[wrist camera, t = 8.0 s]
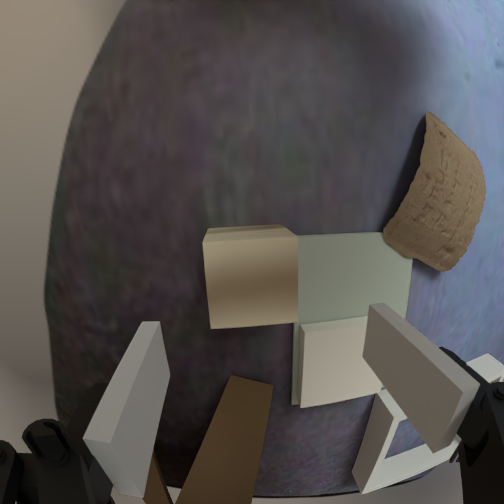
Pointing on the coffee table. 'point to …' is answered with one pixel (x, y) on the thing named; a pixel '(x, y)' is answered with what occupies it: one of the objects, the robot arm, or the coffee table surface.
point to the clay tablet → (439, 201)
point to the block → (251, 275)
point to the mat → (346, 281)
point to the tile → (334, 363)
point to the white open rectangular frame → (383, 429)
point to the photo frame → (223, 450)
